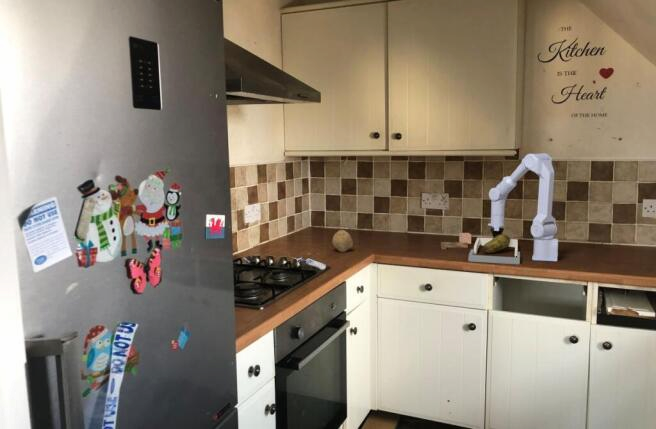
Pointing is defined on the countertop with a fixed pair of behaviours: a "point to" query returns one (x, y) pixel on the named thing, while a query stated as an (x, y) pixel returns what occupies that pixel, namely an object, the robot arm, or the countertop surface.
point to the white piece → (483, 240)
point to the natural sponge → (342, 241)
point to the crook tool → (453, 244)
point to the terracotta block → (465, 237)
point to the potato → (497, 244)
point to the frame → (494, 258)
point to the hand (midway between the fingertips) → (496, 244)
